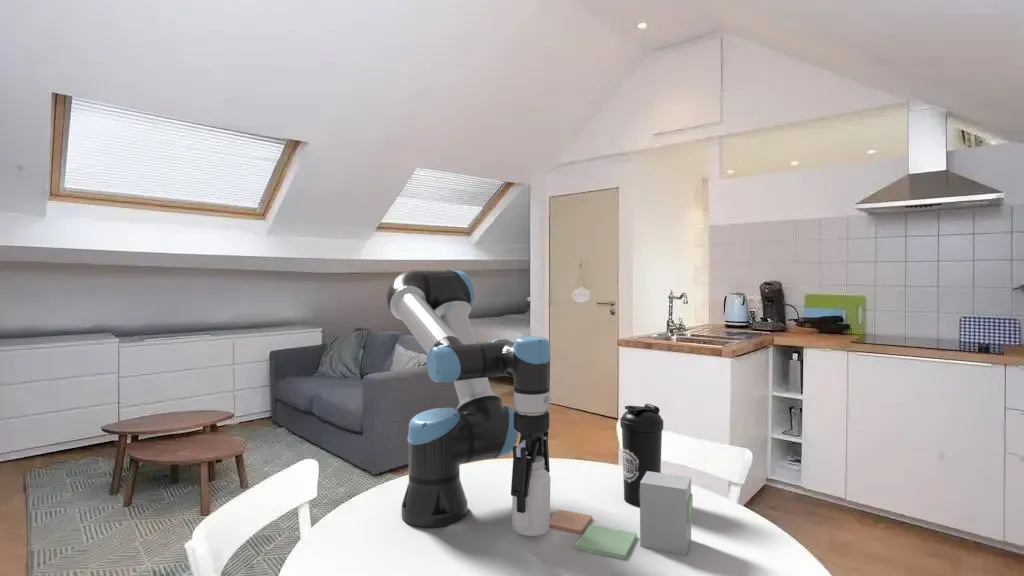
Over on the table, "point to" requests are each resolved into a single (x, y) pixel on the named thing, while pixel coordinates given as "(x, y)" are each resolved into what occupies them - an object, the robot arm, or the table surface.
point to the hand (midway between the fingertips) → (531, 517)
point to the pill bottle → (536, 501)
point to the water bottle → (640, 447)
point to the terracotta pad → (569, 521)
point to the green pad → (606, 541)
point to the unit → (665, 512)
